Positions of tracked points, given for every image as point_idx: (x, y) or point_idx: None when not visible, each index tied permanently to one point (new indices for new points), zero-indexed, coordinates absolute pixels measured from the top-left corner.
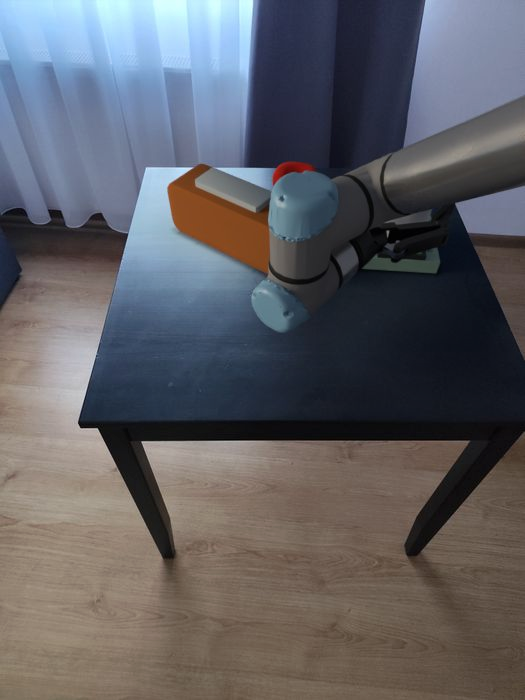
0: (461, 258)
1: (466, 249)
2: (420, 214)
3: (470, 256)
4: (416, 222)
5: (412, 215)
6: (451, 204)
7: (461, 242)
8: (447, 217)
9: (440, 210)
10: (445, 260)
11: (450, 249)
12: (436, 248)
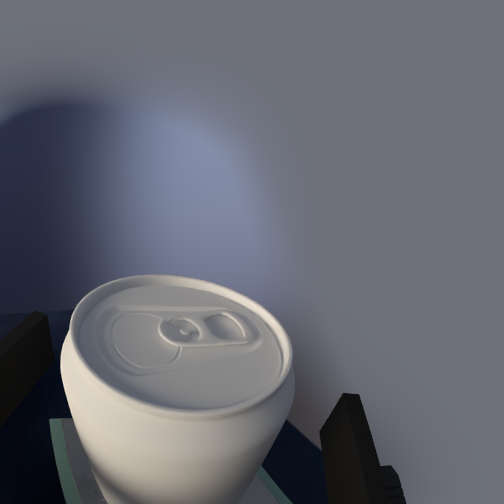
0: (313, 467)
1: (305, 441)
2: (249, 481)
3: (322, 454)
4: (237, 499)
5: (223, 500)
6: (367, 425)
7: (287, 429)
8: (393, 484)
9: (369, 478)
10: (291, 489)
11: (281, 456)
12: (277, 489)
